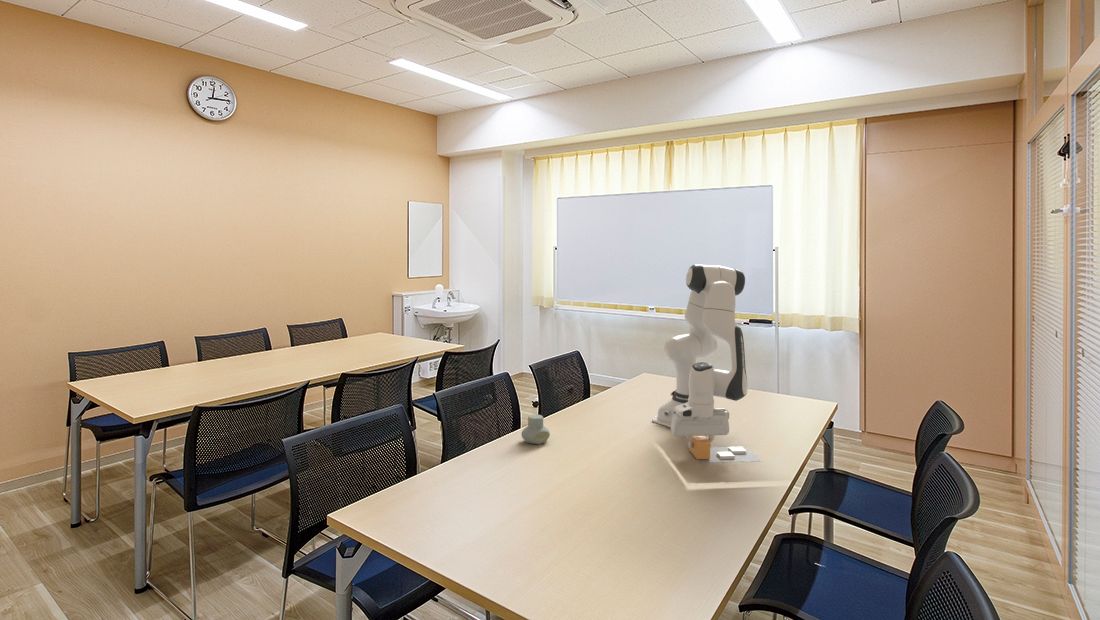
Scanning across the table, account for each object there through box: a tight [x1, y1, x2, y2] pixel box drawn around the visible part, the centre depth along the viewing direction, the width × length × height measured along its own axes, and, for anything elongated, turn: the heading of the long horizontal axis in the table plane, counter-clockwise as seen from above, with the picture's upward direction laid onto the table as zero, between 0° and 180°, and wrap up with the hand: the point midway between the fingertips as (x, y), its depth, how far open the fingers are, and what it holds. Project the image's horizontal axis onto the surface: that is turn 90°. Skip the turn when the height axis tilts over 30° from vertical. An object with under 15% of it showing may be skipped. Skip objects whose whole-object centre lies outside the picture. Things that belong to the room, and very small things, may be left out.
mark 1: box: [717, 452, 735, 459], centre depth 192 cm, size 5×4×1 cm
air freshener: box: [521, 414, 551, 445], centre depth 210 cm, size 11×8×10 cm
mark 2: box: [727, 446, 746, 454], centre depth 197 cm, size 5×4×1 cm
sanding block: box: [688, 436, 712, 460], centre depth 193 cm, size 9×4×6 cm, turn 4°
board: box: [686, 445, 762, 464], centre depth 194 cm, size 22×14×2 cm, turn 94°
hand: (699, 446), depth 193 cm, fingers closed on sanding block, 4 cm apart
